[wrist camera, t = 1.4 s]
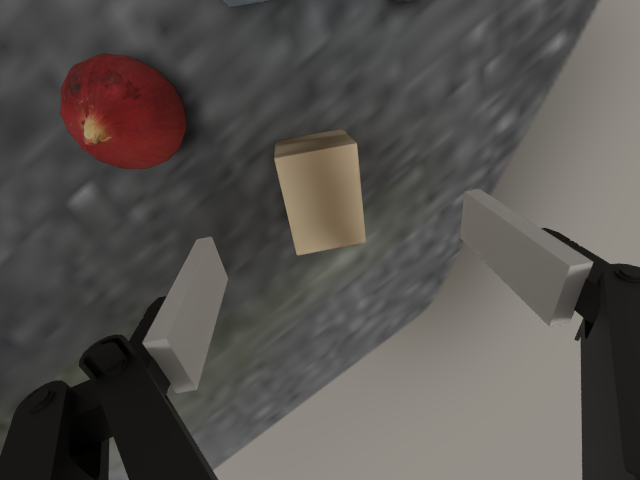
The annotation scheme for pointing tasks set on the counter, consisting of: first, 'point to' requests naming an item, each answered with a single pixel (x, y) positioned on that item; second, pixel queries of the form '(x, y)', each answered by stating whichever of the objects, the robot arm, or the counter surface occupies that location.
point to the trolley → (239, 0)
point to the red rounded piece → (122, 111)
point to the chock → (321, 190)
